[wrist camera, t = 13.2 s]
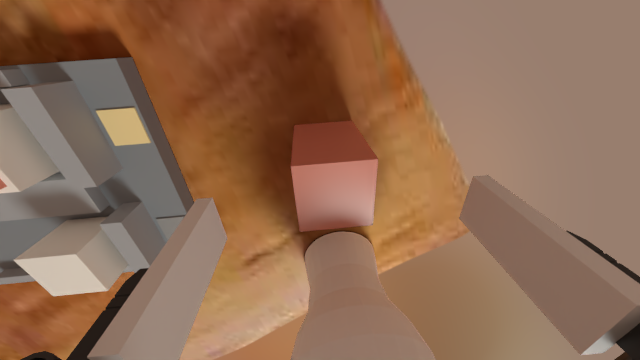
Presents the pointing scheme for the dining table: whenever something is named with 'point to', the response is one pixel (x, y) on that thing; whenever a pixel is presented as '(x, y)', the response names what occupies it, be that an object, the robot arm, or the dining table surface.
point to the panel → (92, 160)
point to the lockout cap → (333, 176)
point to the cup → (352, 307)
